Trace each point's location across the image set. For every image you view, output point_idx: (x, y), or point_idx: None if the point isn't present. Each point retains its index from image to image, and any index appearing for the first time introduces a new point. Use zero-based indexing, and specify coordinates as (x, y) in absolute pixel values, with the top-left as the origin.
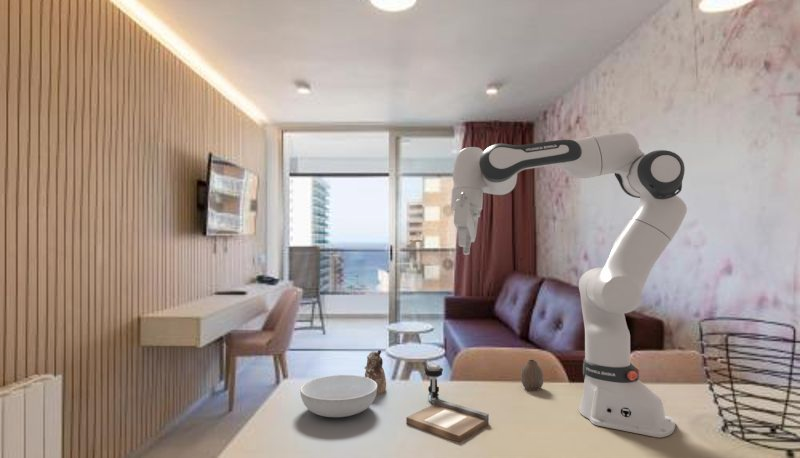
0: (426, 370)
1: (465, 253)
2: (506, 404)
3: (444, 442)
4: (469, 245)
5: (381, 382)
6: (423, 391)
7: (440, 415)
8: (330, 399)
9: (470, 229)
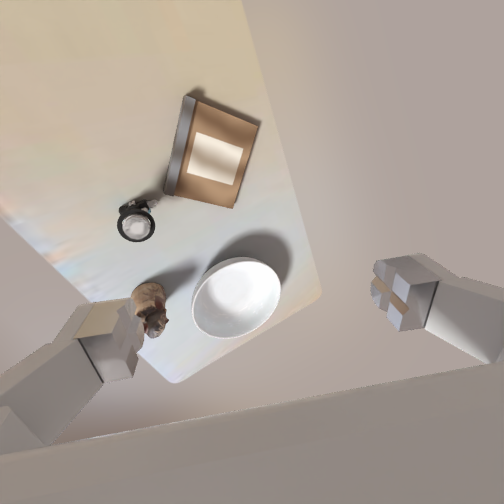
0: (152, 233)
1: (135, 316)
2: (71, 73)
3: (260, 144)
4: (40, 376)
5: (155, 291)
6: (107, 238)
7: (209, 170)
8: (218, 308)
9: (496, 389)
